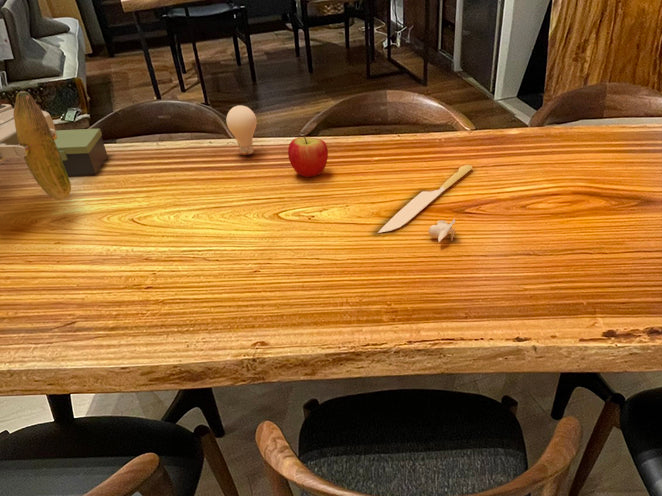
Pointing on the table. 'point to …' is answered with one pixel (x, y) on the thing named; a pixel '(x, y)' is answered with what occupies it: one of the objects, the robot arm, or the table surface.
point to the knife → (421, 202)
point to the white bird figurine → (442, 229)
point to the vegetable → (40, 147)
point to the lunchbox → (81, 151)
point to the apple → (308, 155)
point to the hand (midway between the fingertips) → (41, 142)
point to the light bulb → (242, 127)
